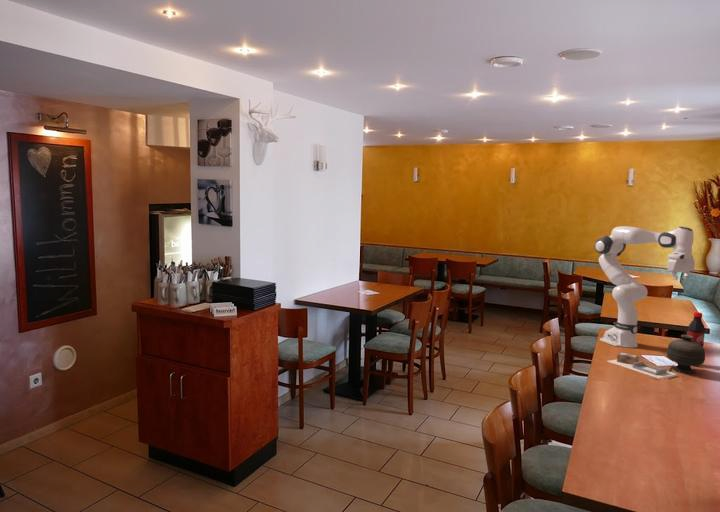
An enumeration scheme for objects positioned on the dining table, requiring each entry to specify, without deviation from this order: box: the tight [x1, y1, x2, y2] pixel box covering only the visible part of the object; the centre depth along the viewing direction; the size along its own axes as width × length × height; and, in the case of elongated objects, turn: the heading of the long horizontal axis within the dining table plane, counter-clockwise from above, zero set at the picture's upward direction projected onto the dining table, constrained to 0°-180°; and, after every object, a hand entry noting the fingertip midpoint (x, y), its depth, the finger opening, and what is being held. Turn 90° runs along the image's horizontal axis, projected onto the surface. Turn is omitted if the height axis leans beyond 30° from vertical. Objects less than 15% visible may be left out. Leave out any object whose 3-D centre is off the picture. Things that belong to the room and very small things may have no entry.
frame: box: [616, 352, 640, 365], centre depth 294 cm, size 10×6×4 cm, turn 53°
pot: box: [666, 334, 706, 375], centre depth 286 cm, size 18×18×20 cm
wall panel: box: [607, 358, 678, 381], centre depth 286 cm, size 30×16×4 cm, turn 28°
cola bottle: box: [686, 311, 706, 367], centre depth 298 cm, size 8×8×30 cm
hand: (680, 279), depth 303 cm, fingers open, 8 cm apart
